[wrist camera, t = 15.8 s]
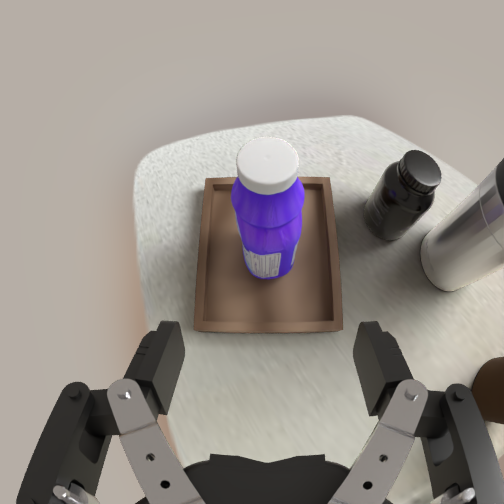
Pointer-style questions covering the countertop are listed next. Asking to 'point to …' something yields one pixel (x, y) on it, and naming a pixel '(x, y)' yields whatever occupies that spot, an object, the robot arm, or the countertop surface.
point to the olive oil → (490, 390)
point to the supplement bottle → (402, 195)
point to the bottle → (268, 205)
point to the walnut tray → (268, 290)
